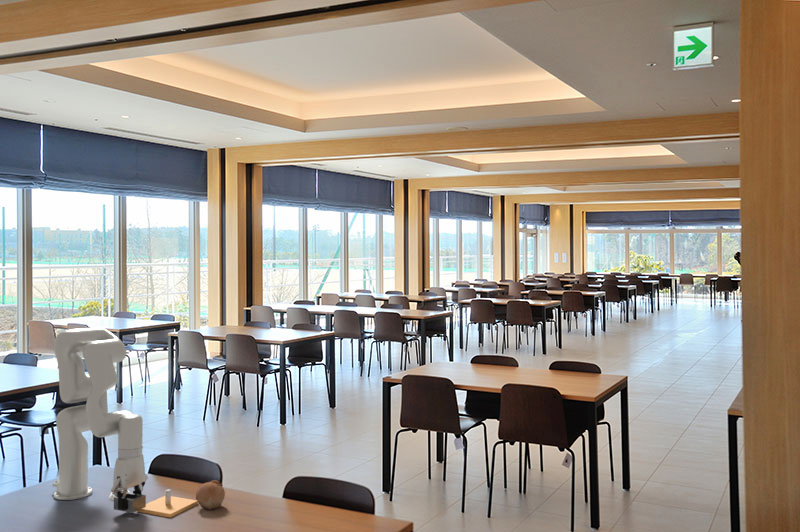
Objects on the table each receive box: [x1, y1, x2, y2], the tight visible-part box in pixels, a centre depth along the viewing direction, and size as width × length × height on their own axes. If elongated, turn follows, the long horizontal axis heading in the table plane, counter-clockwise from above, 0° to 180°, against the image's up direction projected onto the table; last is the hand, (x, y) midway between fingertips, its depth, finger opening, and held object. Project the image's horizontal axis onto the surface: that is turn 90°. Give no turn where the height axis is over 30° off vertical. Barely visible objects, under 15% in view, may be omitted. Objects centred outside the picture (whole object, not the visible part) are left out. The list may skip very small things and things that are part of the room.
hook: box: [108, 489, 131, 501], centre depth 246 cm, size 8×12×7 cm
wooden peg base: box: [136, 489, 199, 518], centre depth 236 cm, size 14×14×6 cm
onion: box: [195, 479, 226, 510], centre depth 236 cm, size 10×9×10 cm
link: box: [113, 491, 147, 514], centre depth 229 cm, size 8×6×4 cm
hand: (129, 505), depth 229 cm, fingers closed on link, 6 cm apart
